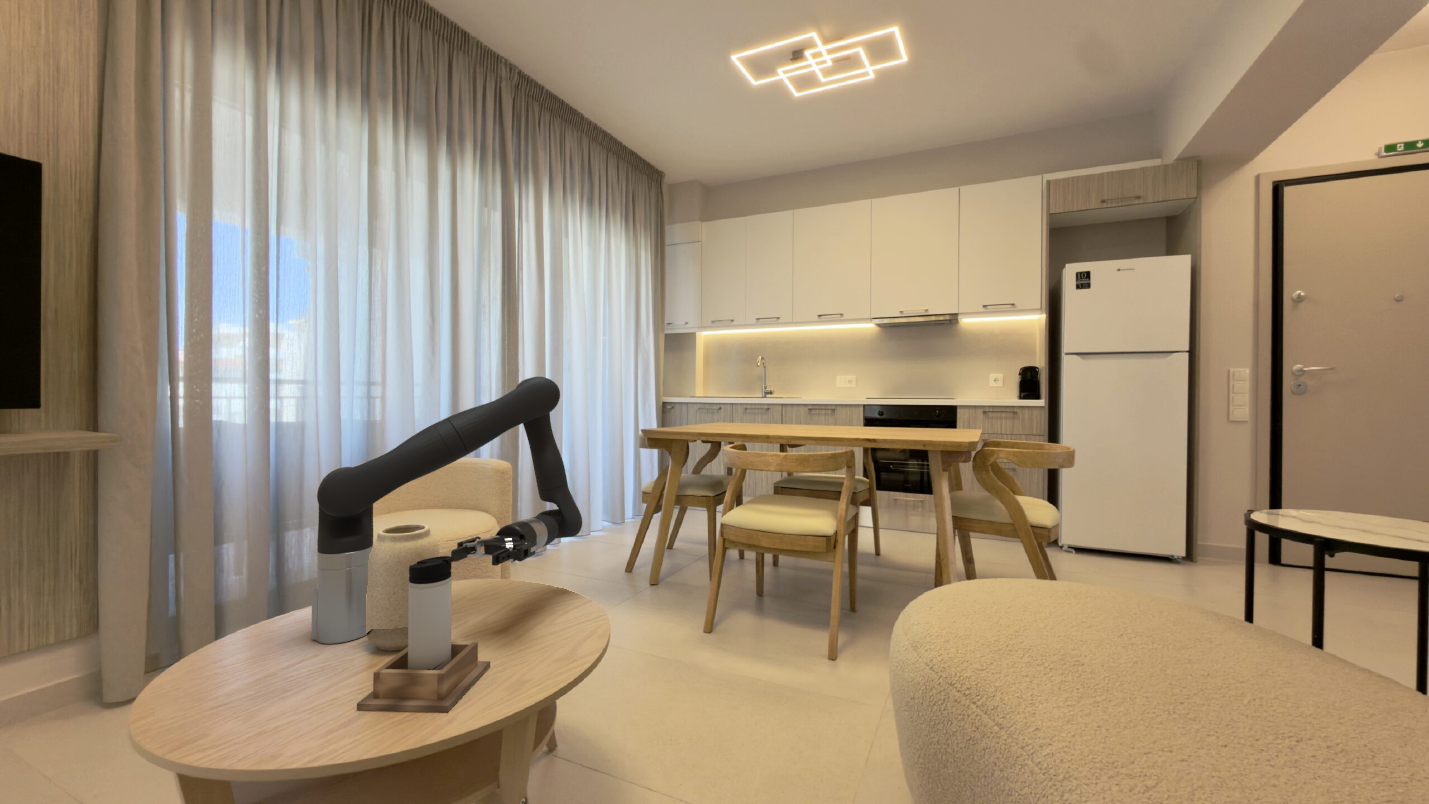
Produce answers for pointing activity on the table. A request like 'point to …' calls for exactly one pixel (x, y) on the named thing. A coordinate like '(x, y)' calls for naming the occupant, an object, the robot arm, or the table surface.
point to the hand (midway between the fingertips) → (473, 558)
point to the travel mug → (430, 614)
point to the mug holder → (425, 682)
